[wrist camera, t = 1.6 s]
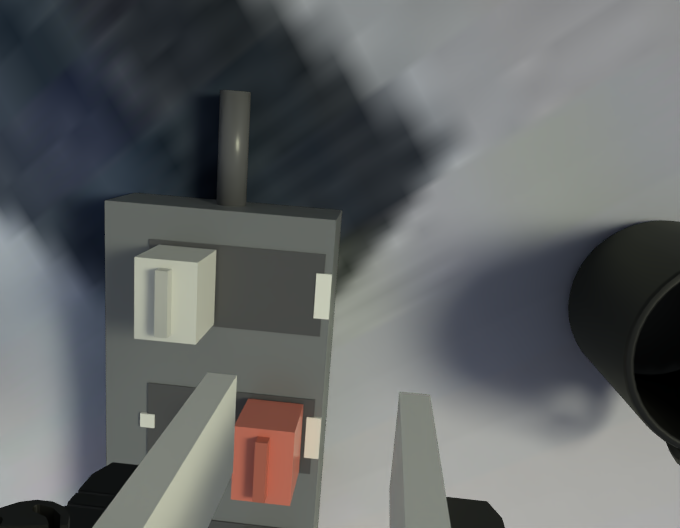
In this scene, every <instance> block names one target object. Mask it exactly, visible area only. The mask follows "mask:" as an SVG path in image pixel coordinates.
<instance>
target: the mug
mask: <svg viewBox="0 0 680 528" xmlns="http://www.w3.org/2000/svg"><path fill="white" fill-rule="evenodd" d="M568 309H569V321H570V326H571V330H572V333H573V335H574V338H575V340H576V342H577V344H578V346H579V347H580V349H581V350H582V352H583V353H584V355H585V356H586V357H587V358H588V359H589V360H590V361H591V363H592V364H593V365H594V366H595V367H596V368H597V369H598V371H599V372H600V373H601V374H602V375H603V376H604V377H605V379H606V380H607V381H608V382H609V383H610V384H611V385H612V387H613V388H614V389H615V390H616V391H617V392H618V393H619V395H620V396H621V397H622V398H623V399H624V400H625V401H626V403H627V404H628V405H629V406H630V407H631V408H632V409H633V411H634V412H635V413H636V414H637V415H638V416H639V417H640V419H641V420H642V421H643V422H644V423H645V424H646V425H647V426H648V427H649V428H650V429H651V430H652V431H653V432H654V433H655V434H656V435H658V436H659V437H660V438H661V439H663V440H664V441H665V442H666V443H667V446H668V448H669V451H670V453H671V454H672V456H673V458H674V459H675V461H676V462H677V463H678V464H679V465H680V222H676V221H651V222H645V223H641V224H637V225H633V226H630V227H628V228H626V229H623V230H621V231H619V232H617V233H615V234H614V235H612V236H610V237H609V238H607V239H606V240H605V241H603V242H602V243H601V244H600V245H598V246H597V247H596V248H595V249H594V250H593V251H592V252H591V254H590V255H589V256H588V257H587V258H586V260H585V261H584V263H583V264H582V265H581V267H580V269H579V271H578V273H577V275H576V277H575V279H574V281H573V285H572V288H571V292H570V297H569V305H568Z"/></svg>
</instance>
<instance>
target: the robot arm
mask: <svg viewBox="0 0 680 528" xmlns="http://www.w3.org/2000/svg"><path fill="white" fill-rule="evenodd" d="M236 385H237V375H228V374H218V373H207V374H206V375H205V377H204V378H203V379H202V381H201V382H200V383H199V385H198V386H197V387H196V389H195V390H194V391H193V393H192V394H191V395H190V397H189V398H188V399H187V401H186V402H185V404H184V405H183V406H182V408H181V409H180V410H179V412H178V413H177V414H176V416H175V417H174V418H173V420H172V421H171V422H170V424H169V425H168V426H167V428H166V429H165V430H164V432H163V433H162V434H161V436H160V437H159V439H158V440H157V441H156V443H155V444H154V445H153V447H152V448H151V449H150V451H149V452H148V453H147V455H146V456H145V457H144V459H143V460H142V461H141V463H140V464H139V465H134V464H125V463H116V462H112V463H111V464H109V465H107V466H106V467H104V468H102V469H100V470H99V471H97V472H95V473H94V474H92V475H91V476H90V477H89V479H88V480H87V481H86V482H85V483H84V484H83V485H82V487H81V488H80V489H79V492H78V493H76V494H75V495H74V496H73V497H72V498H71V499H70V501H69V502H68V505H67V506H64V507H63V506H61V505H59V504H57V503H55V502H52V501H42V500H32V501H23V502H18V503H14V504H11V505H8V506H5V507H2V508H0V528H208V526H209V524H210V522H211V520H212V517H213V515H214V513H215V511H216V509H217V506H218V504H219V502H220V500H221V498H222V495H223V493H224V491H225V489H226V486H227V484H228V482H229V480H230V478H231V475H232V473H233V458H234V433H235V409H236ZM390 528H505V527H504V523H503V520H502V518H501V517H500V515H499V514H498V513H497V512H496V511H495V510H494V509H493V508H492V506H491V505H490V504H489V503H488V502H487V501H478V500H469V499H460V498H451V497H446V493H445V487H444V480H443V474H442V468H441V461H440V455H439V449H438V442H437V436H436V430H435V424H434V417H433V411H432V405H431V398H430V395H427V394H417V393H407V392H399V402H398V412H397V421H396V431H395V441H394V451H393V460H392V470H391V480H390Z"/></svg>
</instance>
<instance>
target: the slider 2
mask: <svg viewBox="0 0 680 528" xmlns="http://www.w3.org/2000/svg"><path fill="white" fill-rule="evenodd" d="M302 419H303V404H296V403H286V402H276V401H267V400H257V399H248V400H247V402H246V404H245V406H244V408H243V410H242V411H241V413H240V415H239V417H238V419H237V421H236V423H235V433H234V458H233V473H232V483H231V499H232V500H241V501H249V502H257V503H267V504H276V505H285V506H290V504H291V500H292V497H293V493H294V489H295V485H296V481H297V477H298V473H299V464H300V449H301V434H302Z"/></svg>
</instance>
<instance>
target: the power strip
mask: <svg viewBox="0 0 680 528" xmlns="http://www.w3.org/2000/svg"><path fill="white" fill-rule="evenodd" d="M250 98H251V93H250V92H242V91H230V90H220V106H219V138H218V169H217V200H215V199H203V198H191V197H179V196H167V195H156V194H144V193H133V194H129V195H125V196H121V197H117V198H113V199H108V200H105V323H106V466H107V465H109V464H111V463H112V462H116V463H125V464H134V465H139V464H140V463H141V461H142V460H143V459H144V457H145V456H146V455H147V453H148V452H149V451H150V449H151V448H152V447H153V445H154V444H155V443H156V441H157V440H158V439H159V437H160V436H161V434H162V433H163V432H164V430H165V429H166V428H167V426H168V425H169V424H170V422H171V421H172V420H173V418H174V417H175V416H176V414H177V413H178V412H179V410H180V409H181V408H182V406H183V405H184V404H185V402H186V401H187V399H188V398H189V397H190V395H191V394H192V393H193V391H194V390H195V389H196V387H197V386H198V385H199V383H200V382H201V381H202V379H203V378H204V377H205V375H206V374H207V373H218V374H228V375H237V385H236V409H235V423H236V421H237V419H238V417H239V415H240V413H241V411H242V410H243V408H244V406H245V404H246V402H247V400H248V399H257V400H267V401H276V402H286V403H296V404H303V419H302V434H301V449H300V464H299V473H298V477H297V481H296V485H295V489H294V493H293V497H292V500H291V504H290V506H285V505H276V504H267V503H257V502H249V501H241V500H232V499H231V483H232V475H231V478H230V480H229V482H228V484H227V486H226V489H225V491H224V493H223V495H222V498H221V500H220V502H219V504H218V506H217V509H216V511H215V513H214V515H213V517H212V520H211V522H210V524H209V526H208V528H318V519H319V506H320V493H321V479H322V466H323V453H324V440H325V427H326V414H327V400H328V387H329V374H330V361H331V348H332V335H333V321H334V308H335V295H336V282H337V269H338V256H339V242H340V229H341V216H342V210H333V209H321V208H309V207H298V206H286V205H274V204H262V203H250V202H246V192H247V169H248V145H249V121H250ZM157 245H169V246H180V247H191V248H202V249H214V250H216V276H215V307H214V325H213V326H212V327H211V328H210V329H209V330H208V331H207V333H206V334H205V335H204V336H203V337H202V338H201V339H200V340H199V341H198V343H197V344H196V345H194V344H184V343H173V342H163V341H153V340H143V339H134V257H135V256H137V255H139V254H141V253H143V252H145V251H147V250H149V249H151V248H153V247H155V246H157Z"/></svg>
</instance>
